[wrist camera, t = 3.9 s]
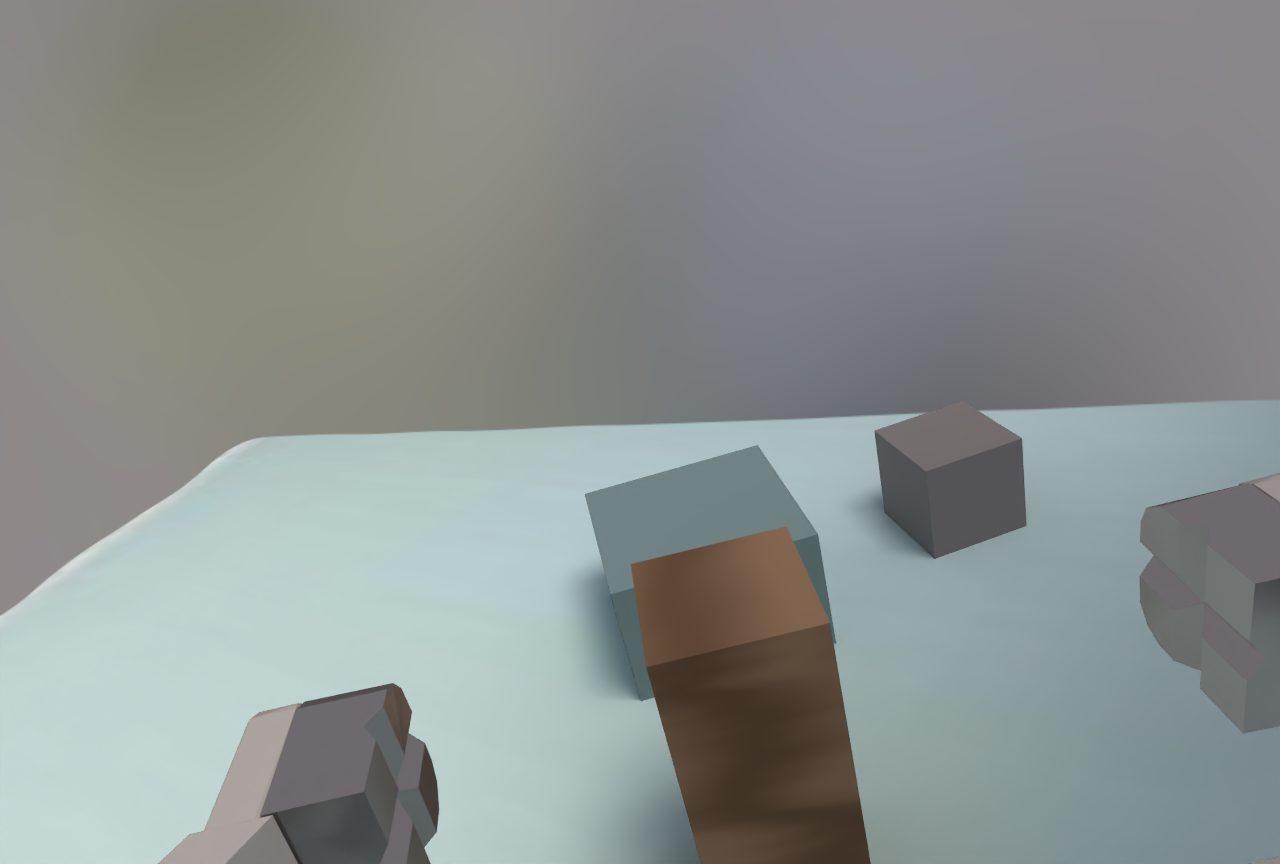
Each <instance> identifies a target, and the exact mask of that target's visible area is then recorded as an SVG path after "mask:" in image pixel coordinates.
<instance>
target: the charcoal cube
mask: <svg viewBox="0 0 1280 864" xmlns="http://www.w3.org/2000/svg"><path fill="white" fill-rule="evenodd" d="M875 439H876V447H877V454H878V462H879V470H880V478H881V486H882V494H883V502H884V510H885V513H886V514H887V515H888V516H889V517H891V518H892V519H893V520H894V521H895V522H896V523H897V524H898V525H899V526H900V527H901V528H902V529H903V530H905V531H906V532H907V533H908V534H909V535H910V536H911V537H912V538H913V539H914V540H915V541H916V542H917V543H919V544H920V545H921V546H922V547H923V548H924V549H925V550H926V551H927V552H928V553H929V554H930V555H931V556H932V557H934V558H935V559H936V558H938V557H941V556H944V555H947V554H949V553H952V552H955V551H958V550H960V549H963V548H966V547H969V546H972V545H974V544H977V543H980V542H983V541H985V540H988V539H991V538H994V537H996V536H999V535H1002V534H1005V533H1008V532H1010V531H1013V530H1016V529H1019V528H1021V527H1024V526H1026V509H1025V489H1024V469H1023V450H1022V438H1021V437H1019V436H1017V435H1016V434H1014V433H1013V432H1011V431H1009V430H1008V429H1006V428H1005V427H1003V426H1001V425H1000V424H998V423H997V422H995V421H993V420H992V419H990V418H989V417H987V416H985V415H984V414H982V413H981V412H979V411H977V410H976V409H974V408H973V407H971V406H969V405H967V404H966V403H965V402H963V401H962V402H959V403H956V404H953V405H950V406H947V407H944V408H941V409H938V410H935V411H932V412H929V413H926V414H923V415H920V416H917V417H914V418H911V419H908V420H905V421H902V422H899V423H896V424H893V425H890V426H887V427H884V428H881V429H878V430H875Z"/></svg>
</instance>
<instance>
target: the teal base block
mask: <svg viewBox="0 0 1280 864" xmlns="http://www.w3.org/2000/svg"><path fill="white" fill-rule="evenodd" d="M585 497H586V501H587V505H588V509H589V513H590V516H591V520H592V524H593V528H594V532H595V536H596V540H597V544H598V548H599V552H600V556H601V559H602V563H603V567H604V571H605V575H606V579H607V583H608V587H609V591H610V595H611V598H612V602H613V605H614V608H615V612H616V615H617V619H618V622H619V626H620V629H621V633H622V636H623V640H624V643H625V647H626V650H627V654H628V657H629V661H630V664H631V668H632V671H633V675H634V678H635V682H636V685H637V689H638V692H639V696H640V699H641V701H643V700H646V699H650V698H653V697H654V693H653V690H652V686H651V682H650V679H649V675H648V672H647V668H646V663H645V656H644V649H643V643H642V636H641V630H640V623H639V617H638V610H637V603H636V597H635V590H634V584H633V577H632V571H631V564H633V563H637V562H641V561H645V560H649V559H654V558H658V557H662V556H666V555H670V554H674V553H678V552H682V551H687V550H691V549H695V548H699V547H703V546H707V545H711V544H715V543H720V542H724V541H728V540H732V539H736V538H740V537H744V536H748V535H753V534H757V533H761V532H765V531H769V530H773V529H777V528H781V527H786V526H787V529H788V531H789V533H790V535H791V537H792V540H793V542H794V544H795V546H796V549H797V551H798V553H799V555H800V557H801V560H802V562H803V564H804V566H805V569H806V571H807V573H808V575H809V577H810V580H811V582H812V584H813V586H814V589H815V591H816V593H817V595H818V597H819V600H820V602H821V604H822V606H823V609H824V611H825V613H826V615H827V617H828V620H829V622H830V626H831V632H832V638H833V644H834V643H836V641H835V635H834V629H833V623H832V617H831V611H830V604H829V598H828V592H827V586H826V580H825V574H824V568H823V562H822V556H821V550H820V544H819V538H818V534H817V532H816V531H815V529H814V528H813V526H812V525H811V523H810V522H809V520H808V519H807V517H806V516H805V515H804V513H803V512H802V510H801V509H800V507H799V506H798V504H797V503H796V501H795V500H794V498H793V497H792V495H791V494H790V492H789V491H788V489H787V488H786V486H785V485H784V484H783V482H782V481H781V479H780V478H779V476H778V475H777V473H776V472H775V470H774V469H773V467H772V466H771V464H770V463H769V461H768V460H767V458H766V457H765V455H764V454H763V452H762V451H761V450H760V448H759V447H758V445H757V446H753V447H750V448H746V449H743V450H739V451H735V452H732V453H728V454H725V455H721V456H718V457H714V458H711V459H707V460H704V461H700V462H697V463H693V464H689V465H686V466H682V467H679V468H675V469H672V470H668V471H665V472H661V473H658V474H654V475H651V476H647V477H643V478H640V479H636V480H633V481H629V482H626V483H622V484H619V485H615V486H612V487H608V488H605V489H601V490H597V491H594V492H590V493H587V494H585Z"/></svg>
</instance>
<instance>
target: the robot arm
mask: <svg viewBox="0 0 1280 864" xmlns="http://www.w3.org/2000/svg"><path fill="white" fill-rule="evenodd" d="M1140 542H1141V543H1142V544H1143V545H1144V546H1145V547H1146V548H1147V549H1148V550H1149V551H1150V552H1151V553H1152V554H1153V555H1154V556H1153V558H1152V559H1151V560H1150V562H1149V563H1148V565H1147V566H1146V568H1145V569H1144V571H1143V572H1142V573H1141V575H1140V603H1141V606H1142V609H1143V612H1144V615H1145V618H1146V621H1147V624H1148V627H1149V629H1150V630H1151V632H1152V634H1153V635H1154V637H1155V639H1156V640H1157V642H1158V644H1159V645H1160V646H1161V647H1162V648H1163V649H1164V650H1165V652H1166V653H1167V654H1168V655H1169V656H1170V657H1171V658H1172V659H1173V660H1174V661H1177V662H1179V663H1182V664H1185V665H1187V666H1190V667H1192V668H1195V669H1198V670H1200V671H1201V682H1200V689H1201V690H1202V691H1203V692H1204V693H1205V694H1206V695H1207V696H1208V697H1209V698H1210V699H1211V700H1212V702H1213V703H1214V704H1215V705H1216V706H1217V707H1218V708H1219V709H1220V710H1221V711H1222V712H1223V713H1224V714H1225V715H1226V716H1227V717H1228V718H1229V719H1230V720H1231V721H1232V722H1233V723H1234V724H1235V726H1236V727H1237V728H1238V729H1239V730H1240V731H1241V732H1242V733H1248V732H1253V731H1258V730H1262V729H1267V728H1272V727H1277V726H1280V473H1279V474H1275V475H1271V476H1267V477H1264V478H1260V479H1256V480H1252V481H1248V482H1245V483H1241V484H1239V485H1238V486H1235V487H1231V488H1227V489H1223V490H1218V491H1214V492H1210V493H1206V494H1202V495H1198V496H1194V497H1189V498H1185V499H1181V500H1177V501H1173V502H1169V503H1164V504H1160V505H1156V506H1152V507H1148V508H1146V510H1145V512H1144V515H1143V517H1142V520H1141V532H1140ZM411 714H412V711H411V709H410V707H409V704H408V702H407V700H406V698H405V696H404V693H403V691H402V689H401V688H400V687H398V686H397V685H395V684H394V683H391V684H387V685H382V686H377V687H372V688H368V689H363V690H358V691H353V692H349V693H344V694H339V695H335V696H330V697H325V698H320V699H316V700H311V701H306V702H304V703H303V704H300V703H298V704H293V705H289V706H285V707H280V708H276V709H272V710H267V711H263V712H259V713H258V714H256V715H255V716H254V717H252V718H251V719H250V720H249V722H248V724H247V726H246V729H245V731H244V734H243V736H242V739H241V741H240V744H239V746H238V748H237V751H236V753H235V756H234V758H233V761H232V763H231V766H230V768H229V771H228V773H227V775H226V778H225V780H224V783H223V785H222V788H221V790H220V793H219V795H218V798H217V800H216V803H215V805H214V807H213V810H212V812H211V815H210V817H209V820H208V822H207V825H206V827H205V830H204V831H201V832H197V833H193V834H189V835H188V836H187V837H186V838H185V839H184V840H183V841H182V842H181V843H180V844H179V845H178V846H177V847H175V848H174V849H173V850H172V851H171V852H170V853H169V854H168V855H167V856H166V857H165V858H164V859H163V860H161V861H160V862H159V863H158V864H431V863H430V861H429V859H428V856H427V854H426V852H425V849H424V847H425V846H426V845H427V843H428V842H429V841H430V840H431V838H432V837H433V836H434V835H435V833H436V832H437V824H438V814H439V802H438V789H437V780H436V776H435V772H434V768H433V764H432V760H431V758H430V755H429V752H428V750H427V747H426V745H425V743H424V742H422V741H420V740H419V739H417V738H416V737H414V736H412V735H411V734H409V733H408V732H409V726H410V720H411ZM1250 864H1280V857H1276V858H1272V859H1267V860H1263V861H1259V862H1254V863H1250Z"/></svg>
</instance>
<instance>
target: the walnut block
mask: <svg viewBox="0 0 1280 864" xmlns="http://www.w3.org/2000/svg"><path fill="white" fill-rule="evenodd" d="M631 571H632V577H633V584H634V590H635V597H636V603H637V610H638V617H639V623H640V630H641V636H642V643H643V649H644V656H645V663H646V668H647V672H648V675H649V679H650V682H651V686H652V690H653V693H654V697H655V700H656V704H657V707H658V711H659V714H660V718H661V722H662V725H663V729H664V732H665V736H666V739H667V743H668V747H669V750H670V754H671V757H672V761H673V764H674V768H675V771H676V775H677V779H678V782H679V786H680V789H681V793H682V796H683V800H684V803H685V807H686V811H687V814H688V818H689V821H690V825H691V828H692V832H693V835H694V839H695V843H696V846H697V850H698V853H699V857H700V860H701V864H871V863H870V857H869V851H868V845H867V839H866V833H865V827H864V821H863V815H862V810H861V804H860V798H859V792H858V786H857V780H856V774H855V768H854V762H853V756H852V750H851V744H850V739H849V733H848V727H847V721H846V715H845V709H844V703H843V697H842V691H841V685H840V679H839V673H838V668H837V662H836V656H835V650H834V644H833V638H832V632H831V626H830V622H829V620H828V617H827V615H826V613H825V611H824V609H823V606H822V604H821V602H820V600H819V597H818V595H817V593H816V591H815V589H814V586H813V584H812V582H811V580H810V577H809V575H808V573H807V571H806V569H805V566H804V564H803V562H802V560H801V557H800V555H799V553H798V551H797V549H796V546H795V544H794V542H793V540H792V537H791V535H790V533H789V531H788V529H787V526H786V527H781V528H777V529H773V530H769V531H765V532H761V533H757V534H753V535H748V536H744V537H740V538H736V539H732V540H728V541H724V542H720V543H715V544H711V545H707V546H703V547H699V548H695V549H691V550H687V551H682V552H678V553H674V554H670V555H666V556H662V557H658V558H654V559H649V560H645V561H641V562H637V563H633V564H631Z"/></svg>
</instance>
